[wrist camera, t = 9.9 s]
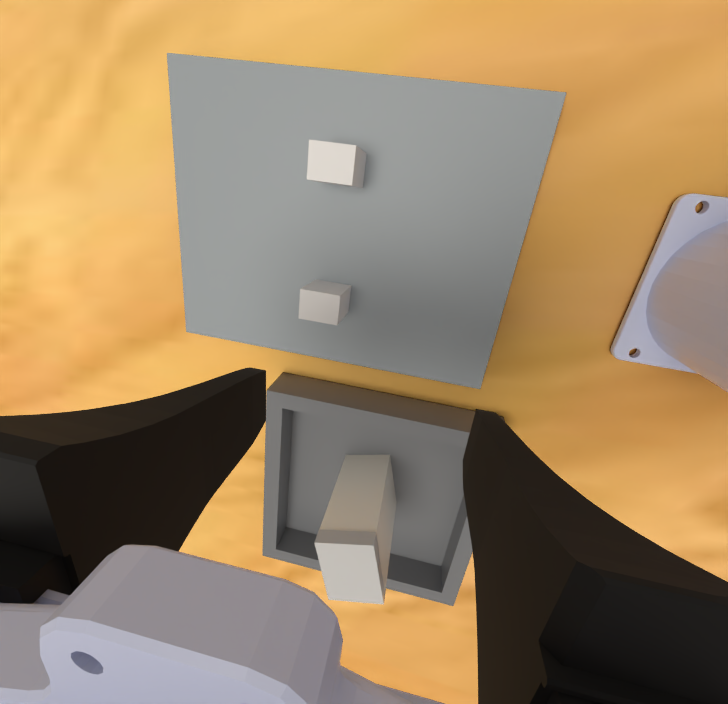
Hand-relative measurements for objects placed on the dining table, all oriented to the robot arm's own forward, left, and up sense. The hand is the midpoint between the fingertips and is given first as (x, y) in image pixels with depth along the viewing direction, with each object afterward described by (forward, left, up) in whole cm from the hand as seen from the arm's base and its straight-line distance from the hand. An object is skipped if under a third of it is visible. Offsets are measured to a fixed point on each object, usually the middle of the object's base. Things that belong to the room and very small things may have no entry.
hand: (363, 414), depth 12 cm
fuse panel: (+4, -5, -10) cm, 11 cm away
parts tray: (0, +11, -10) cm, 15 cm away
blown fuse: (0, +11, -9) cm, 14 cm away
